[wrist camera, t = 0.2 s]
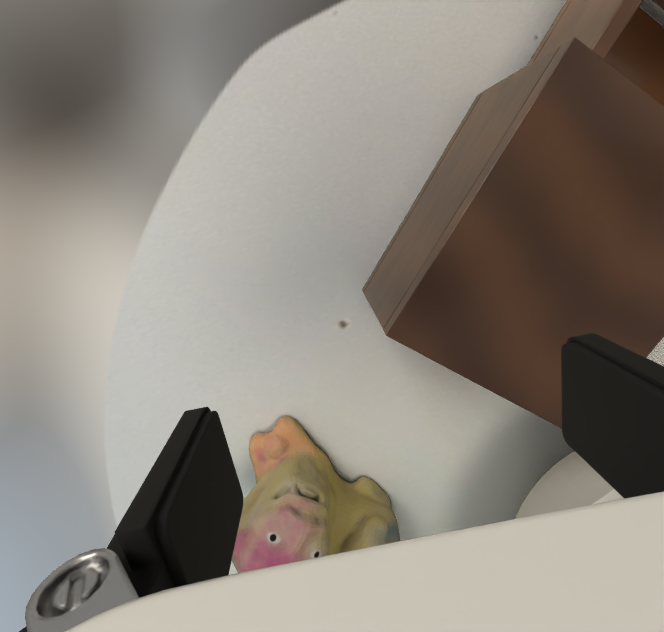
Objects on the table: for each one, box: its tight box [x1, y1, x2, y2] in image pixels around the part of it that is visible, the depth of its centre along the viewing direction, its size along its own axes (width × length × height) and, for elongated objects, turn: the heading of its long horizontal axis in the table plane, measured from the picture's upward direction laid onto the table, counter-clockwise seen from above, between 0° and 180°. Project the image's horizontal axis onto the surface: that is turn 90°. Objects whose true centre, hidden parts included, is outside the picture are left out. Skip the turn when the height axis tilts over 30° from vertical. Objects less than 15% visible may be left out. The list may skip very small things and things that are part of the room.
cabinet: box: [362, 37, 664, 428], centre depth 24 cm, size 15×13×10 cm
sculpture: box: [232, 416, 400, 573], centre depth 29 cm, size 15×8×10 cm, turn 52°
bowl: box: [515, 451, 624, 519], centre depth 31 cm, size 27×27×10 cm
